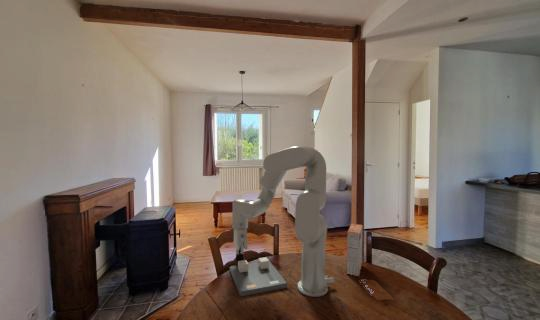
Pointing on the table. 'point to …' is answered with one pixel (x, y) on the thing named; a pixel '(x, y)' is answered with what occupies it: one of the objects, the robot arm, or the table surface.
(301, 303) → the table surface
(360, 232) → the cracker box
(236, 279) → the switch panel
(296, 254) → the table surface
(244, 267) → the tab
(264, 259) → the tab
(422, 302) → the table surface
